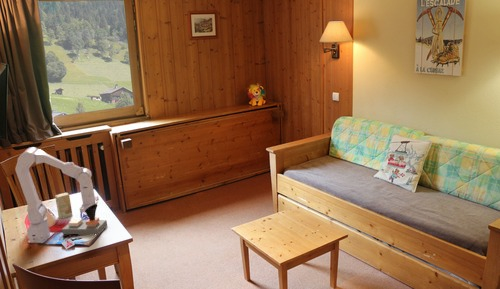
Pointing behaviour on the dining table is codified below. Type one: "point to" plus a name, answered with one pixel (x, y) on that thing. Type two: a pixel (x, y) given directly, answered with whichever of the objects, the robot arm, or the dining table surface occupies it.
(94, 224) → the terracotta plunger
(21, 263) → the dining table surface
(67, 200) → the skincare box
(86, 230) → the panel
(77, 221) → the cream cube block
